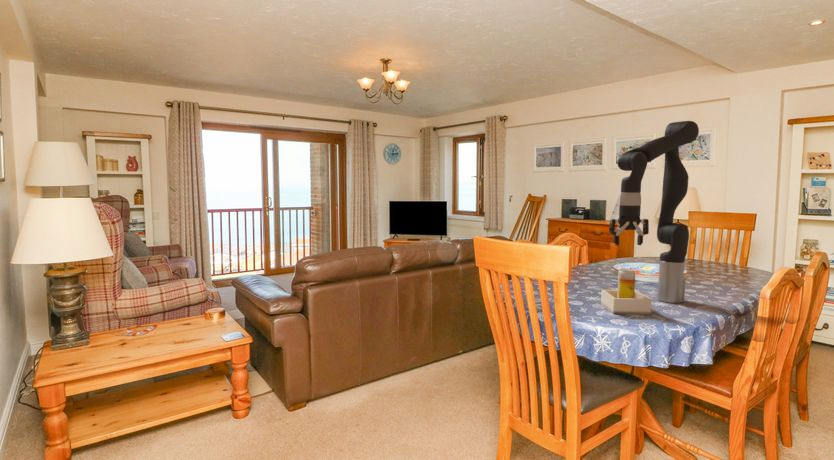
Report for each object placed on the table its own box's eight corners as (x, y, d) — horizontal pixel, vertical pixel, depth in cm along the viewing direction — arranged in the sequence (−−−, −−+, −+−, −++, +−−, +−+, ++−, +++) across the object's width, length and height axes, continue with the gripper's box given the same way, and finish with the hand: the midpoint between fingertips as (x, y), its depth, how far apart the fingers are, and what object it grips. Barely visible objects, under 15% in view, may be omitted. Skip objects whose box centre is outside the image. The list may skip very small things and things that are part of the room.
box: (635, 304, 188) (636, 290, 187) (650, 314, 174) (651, 299, 174) (600, 303, 189) (601, 289, 188) (613, 313, 175) (613, 298, 175)
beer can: (635, 309, 178) (637, 271, 176) (618, 308, 179) (620, 271, 177) (631, 304, 184) (633, 268, 182) (615, 304, 185) (616, 268, 183)
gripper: (644, 203, 180) (642, 243, 182) (608, 203, 181) (606, 243, 183) (653, 204, 173) (650, 246, 174) (614, 204, 174) (612, 246, 175)
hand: (628, 245), depth 179 cm, fingers open, 8 cm apart
